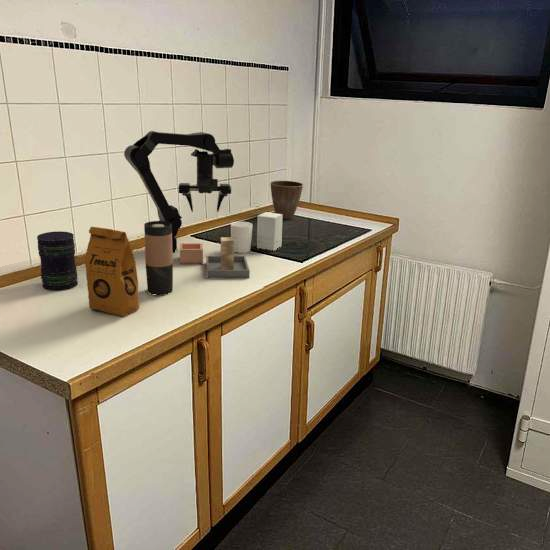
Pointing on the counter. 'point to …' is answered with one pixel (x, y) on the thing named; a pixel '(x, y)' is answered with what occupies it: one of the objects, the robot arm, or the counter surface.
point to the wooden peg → (227, 253)
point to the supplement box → (269, 231)
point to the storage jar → (57, 260)
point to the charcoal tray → (215, 270)
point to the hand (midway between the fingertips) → (204, 211)
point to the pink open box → (191, 253)
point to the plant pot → (286, 197)
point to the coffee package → (111, 272)
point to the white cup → (241, 236)
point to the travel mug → (159, 257)
